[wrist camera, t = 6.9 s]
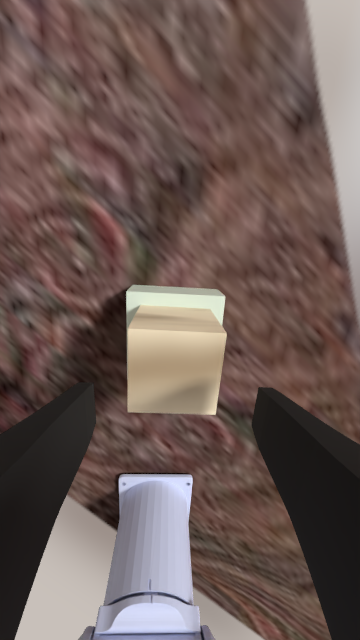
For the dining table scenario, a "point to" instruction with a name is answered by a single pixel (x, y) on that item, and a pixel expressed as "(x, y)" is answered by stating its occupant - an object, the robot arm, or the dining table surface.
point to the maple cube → (174, 360)
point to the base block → (172, 300)
